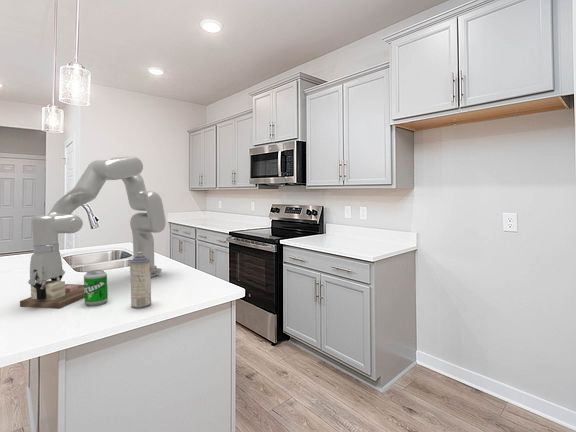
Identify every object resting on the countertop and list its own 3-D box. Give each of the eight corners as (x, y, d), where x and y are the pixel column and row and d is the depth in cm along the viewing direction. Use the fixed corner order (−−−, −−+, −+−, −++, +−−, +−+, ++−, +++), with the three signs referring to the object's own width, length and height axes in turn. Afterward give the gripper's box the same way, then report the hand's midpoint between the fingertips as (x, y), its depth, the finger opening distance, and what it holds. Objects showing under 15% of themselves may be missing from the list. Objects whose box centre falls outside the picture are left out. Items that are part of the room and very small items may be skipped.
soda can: (91, 300, 127) (90, 269, 126) (111, 299, 128) (110, 269, 127) (80, 306, 120) (79, 274, 119) (102, 306, 120) (100, 274, 119)
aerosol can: (154, 304, 122) (153, 252, 121) (137, 309, 117) (135, 254, 115) (145, 300, 126) (143, 249, 125) (127, 305, 121) (125, 252, 119)
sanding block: (65, 296, 125) (64, 281, 124) (53, 301, 119) (52, 285, 119) (44, 295, 126) (43, 280, 125) (31, 300, 120) (30, 284, 120)
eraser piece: (77, 289, 134) (77, 285, 134) (70, 292, 130) (70, 288, 130) (68, 288, 135) (68, 285, 134) (61, 291, 131) (60, 288, 131)
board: (101, 290, 140) (101, 285, 139) (59, 308, 118) (59, 303, 118) (67, 288, 141) (66, 284, 141) (20, 306, 120) (19, 301, 119)
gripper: (55, 244, 130) (58, 289, 131) (15, 252, 113) (18, 304, 114) (73, 245, 129) (75, 290, 130) (35, 253, 112) (37, 305, 113)
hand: (48, 296), depth 122 cm, fingers closed on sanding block, 5 cm apart
